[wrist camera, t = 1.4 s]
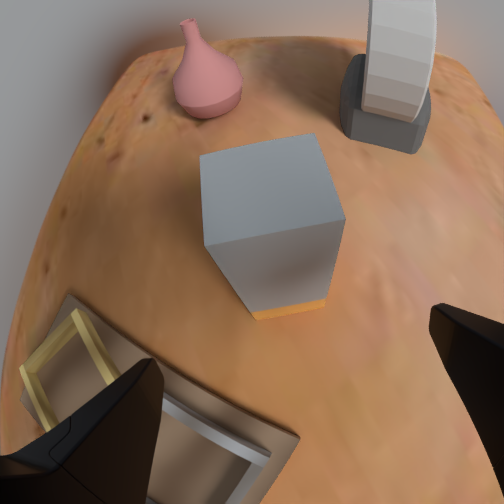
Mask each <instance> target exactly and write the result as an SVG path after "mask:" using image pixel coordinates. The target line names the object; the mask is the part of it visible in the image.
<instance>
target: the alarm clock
mask: <svg viewBox="0 0 504 504" xmlns="http://www.w3.org/2000/svg"><path fill="white" fill-rule="evenodd" d="M436 20H437V17H436V2H435V0H369V18H368V34H367V47H366V54H358V55H355V56H354V57H353V59H352V61H351V63H350V64H349V66H348V68H347V71H346V74H345V76H344V79H343V82H342V85H341V96H340V111H339V113H340V120H341V126H342V128H343V131H344V133H345V136H346V137H348V138H349V139H352V140H356V141H361V142H365V143H369V144H373V145H378V146H382V147H386V148H389V149H393V150H397V151H401V152H404V153H408V154H415V153H416V152H417V151H418V149H419V148H420V146H421V144H422V141H423V138H424V135H425V132H426V129H427V126H428V123H429V119H430V113H431V99H430V93H429V88H428V85H429V81H430V76H431V71H432V66H433V60H434V52H435V43H436Z"/></svg>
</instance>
